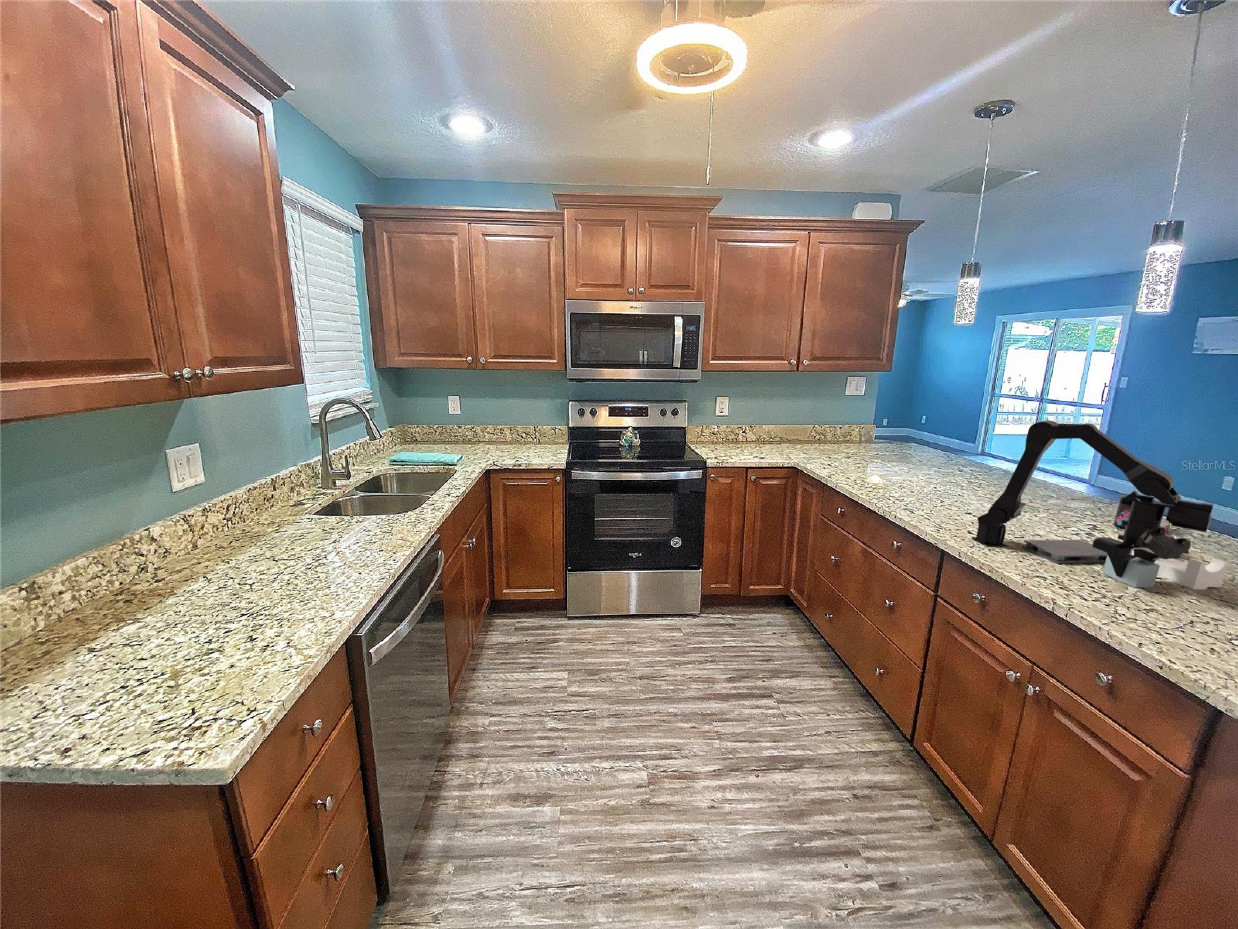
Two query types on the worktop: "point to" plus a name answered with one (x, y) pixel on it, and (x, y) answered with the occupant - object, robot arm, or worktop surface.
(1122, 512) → the supplement container
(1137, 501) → the robot arm
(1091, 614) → the worktop surface
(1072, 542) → the stand
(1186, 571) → the bracket
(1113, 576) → the housing
